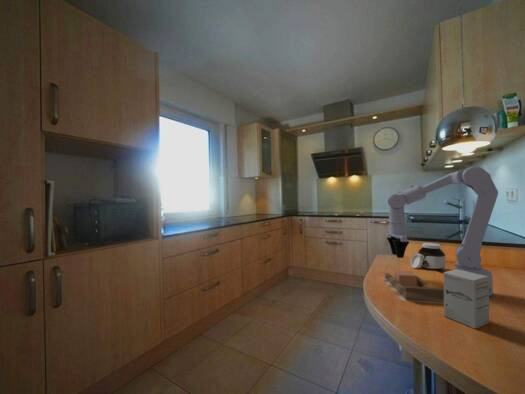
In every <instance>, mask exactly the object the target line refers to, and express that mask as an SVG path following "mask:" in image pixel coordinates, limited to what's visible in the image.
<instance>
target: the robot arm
mask: <svg viewBox="0 0 525 394" xmlns="http://www.w3.org/2000/svg"><path fill="white" fill-rule="evenodd" d="M460 184H463V185H465V187H466V186H467V187H468V188H470V189H471V190H472V191H473V192H474V193H475V194H476V195H477V197H476V201H475V204H474V207H473V210H472V213H471V217H470V219H469V222H468V225H467V229H466V231H465V234H464V237H463V239H462V242H461V244H460V246H458V247H456V249H455V256H456V260H457V261H455V262H454V270H455V269H459V270H463V271H467V272H471V273H475V274H480V275H484V276H488V277H489V297H490V296H493V295H495V293H494V287H493V285H494V283H493V282H494V280H493V274H492V272H491V271H490V270H489V269H488V270H487V269H485V268H483V266H482V265H481V263H482V257H481V251H482V244H483V240H484V238H485V234H486V231H487V228H488V226H489V223H490V219H491V216H492V215H493V210H494V208H495V206H496V202H497V198H498V196H499V191H498V189H497V187H496V185H495V183H494V181H493V179H492V176H491V173H489V172H488V171H486V170H485V169H484V168H482V167H480V166H477V165H476V166H469V167H467V168H465V169H464V170H463V169H461V170H457V171H454V172H450V173H449V174H447V175H444V176H441V177H440V178H438V179H436V180H434V181H433V180H432V181H431V182H429V183H426V184H424V185H420V184H419V185H418V184H416V185H413V184H412V185H410V186H409V188H407V189H405V190H403V191H402V190H401V191H400V190H399V191H398V192H397V193H396V194H392V195H391V196H389V197H388V199H387V204H388V206H389V209H388V211H389V212H388V223H389V224H388V226H389V231H388V233H386V235H385V236H387V237H386V240H387V241H388V244H389V246H390V251H391V255H396V257H397V259H403V258H404V257H405V252H406V249H407V247H408V246H409V245H410V241H409V240H408V236H407V234H406V212H405V205H411V204H414V203H415V202H418V201H421V200H423V199H425V198H426V196H427V194H428V193H431V192H433V191H436V190H439V189H441V188H443V187H446V186H447V187H448V186H450V185H460Z"/></svg>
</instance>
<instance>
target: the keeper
mask: <svg viewBox="0 0 525 394" xmlns="http://www.w3.org/2000/svg"><path fill="white" fill-rule="evenodd" d="M393 273H394V276H393V278H395V279H396V280H397V281H398V282H399V283H400V284H401V285H402V286H414V287H417V277H418V275H416V274H415V273H414V272H412V271H403V270H402V271H401V270H394V271H393Z"/></svg>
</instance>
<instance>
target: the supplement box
mask: <svg viewBox="0 0 525 394" xmlns="http://www.w3.org/2000/svg"><path fill="white" fill-rule="evenodd" d="M443 289H444V304H443V316H444V317H445V318H449V319H451V320H454V321H456V322H459V323H461V324H463V325H465V326H468V327H470V328H471V329H475V330H476V329H478V328H480V327H483V326H485V325H488V324H489V323H490V296H489V277H488V276H484V275H480V274H475V273H471V272H467V271H463V270H459V269H455V268H454V269H451V270H447V271H444V272H443Z"/></svg>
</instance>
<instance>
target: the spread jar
mask: <svg viewBox="0 0 525 394" xmlns="http://www.w3.org/2000/svg"><path fill="white" fill-rule="evenodd" d="M421 245H422V247H421V248H420V249H419V250H418V253H414V254H413V255H412V256H411V257H410V266H411V267H412V268H413V269H416V268H417V270H418V269H419V268H422V269H423V268H424V269H423V270H425V269H427V270H426V271H436V272H441V271H443V270H444V269H445V268H446V267H447V265H446V263H447V259H446V253H445V252H444V251H443V250H442V249H441V244H439V243H435V242H433V243H432V242H424V243H422V244H421Z"/></svg>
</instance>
